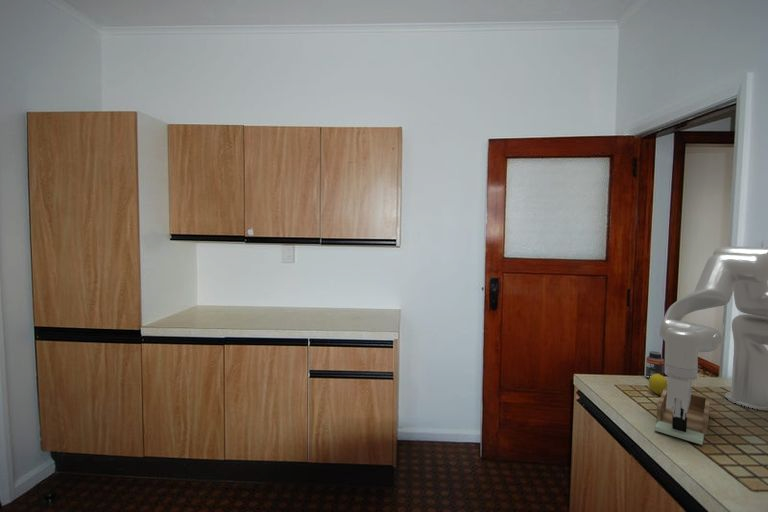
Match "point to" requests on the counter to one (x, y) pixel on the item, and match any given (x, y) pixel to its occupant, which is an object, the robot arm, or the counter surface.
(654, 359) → the supplement bottle
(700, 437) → the panel
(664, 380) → the lemon
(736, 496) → the counter surface
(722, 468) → the counter surface
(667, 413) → the crate
